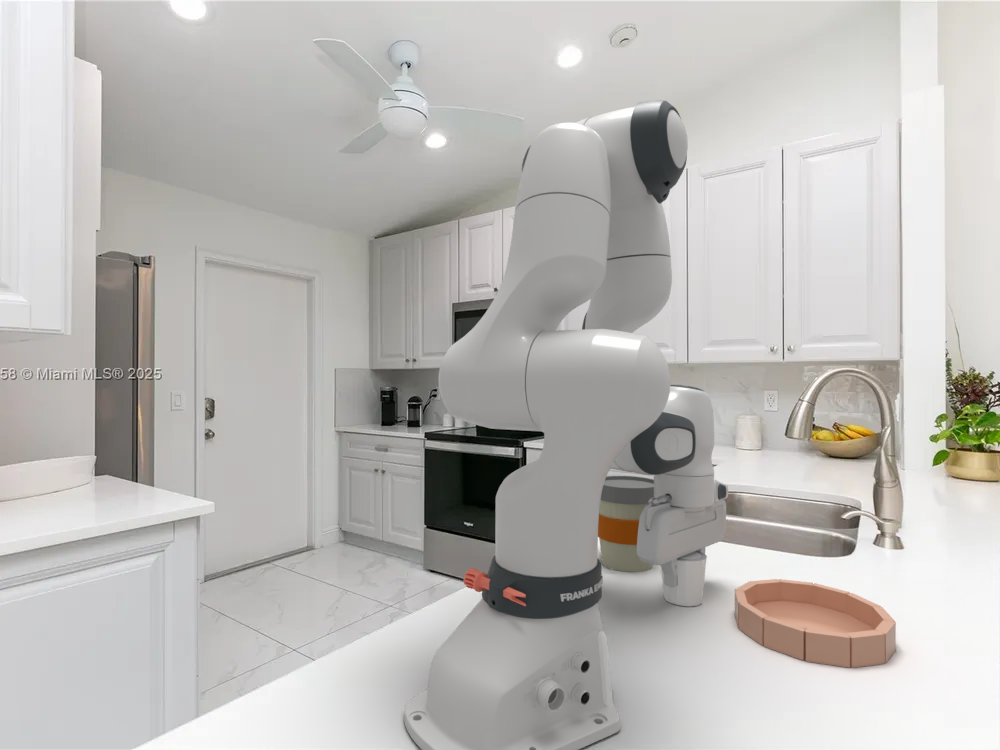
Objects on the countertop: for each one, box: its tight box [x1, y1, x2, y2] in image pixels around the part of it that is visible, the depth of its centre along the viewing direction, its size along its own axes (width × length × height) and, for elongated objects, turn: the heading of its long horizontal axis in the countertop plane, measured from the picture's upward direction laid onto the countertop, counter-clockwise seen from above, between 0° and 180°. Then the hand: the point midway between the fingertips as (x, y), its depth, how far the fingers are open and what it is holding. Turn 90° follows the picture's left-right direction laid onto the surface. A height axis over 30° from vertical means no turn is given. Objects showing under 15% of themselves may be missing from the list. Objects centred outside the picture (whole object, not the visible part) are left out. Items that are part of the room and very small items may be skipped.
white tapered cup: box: [660, 550, 708, 607], centre depth 83 cm, size 7×7×7 cm
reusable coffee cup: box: [598, 475, 654, 573], centre depth 100 cm, size 13×13×15 cm
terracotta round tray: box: [734, 578, 897, 669], centre depth 73 cm, size 18×18×4 cm
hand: (682, 580), depth 83 cm, fingers closed on white tapered cup, 5 cm apart
